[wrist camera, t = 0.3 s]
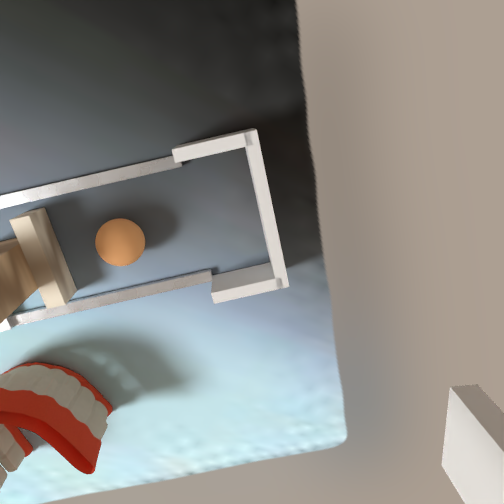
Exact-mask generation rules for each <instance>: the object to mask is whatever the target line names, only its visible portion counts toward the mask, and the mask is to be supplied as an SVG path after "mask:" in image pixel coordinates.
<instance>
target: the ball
mask: <svg viewBox="0 0 504 504" xmlns="http://www.w3.org/2000/svg"><path fill="white" fill-rule="evenodd" d="M95 245H96V249H97V252H98V254H99V255H100V257H101V258H102V259H103V260H104V261H106V262H107V263H109V264H112V265H115V266H126V265H129V264H132V263H133V262H135V261H136V260H138V258H139V257H140V256H141V255H142V253H143V251H144V248H145V237H144V234H143V232H142V230H141V229H140V227H139V226H138V225H137V224H135V223H134V222H132V221H130V220H127V219H121V218H119V219H113V220H110V221H108V222H106V223H105V224H104V225H102V226H101V228H100V229H99V230H98V232H97V235H96V239H95Z"/></svg>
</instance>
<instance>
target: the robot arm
mask: <svg viewBox="0 0 504 504" xmlns="http://www.w3.org/2000/svg"><path fill="white" fill-rule="evenodd" d="M442 467H443V468H444V470H445V472H446V473H447V475H448V477H449V478H450V480H451V481H452V483H453V485H454V486H455V488H456V490H457V491H458V493H459V494H460V496H461V497H462V499H463V501H464V503H465V504H504V413H503V412H502V411H501V409H500V408H499V407H498V406H497V405H496V404H495V403H494V402H493V401H492V400H491V399H490V398H489V397H488V395H487V394H486V393H485V392H484V391H483V390H482V389H481V388H480V387H479V386H478V385H477V384H476V385H465V386H454V387H450V393H449V402H448V412H447V421H446V430H445V439H444V448H443V458H442Z"/></svg>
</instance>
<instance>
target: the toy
mask: <svg viewBox="0 0 504 504" xmlns="http://www.w3.org/2000/svg"><path fill="white" fill-rule="evenodd" d="M111 412H112V406H111V405H110V403H109V402H108V401H107V400H106V399H105V398H103V396H102V395H101V393H100V392H99V391H98V390H97V389H96V388H95V387H93V386H92V385H91V384H89V382H88V381H87V380H86V379H85V378H84V377H83V376H81V375H80V374H77V373H75V372H74V371H72V370H70V369H67V368H64V367H61V366H54V365H50V364H46V363H38V362H34V363H27V364H23V365H20V366H17V367H14V368H12V369H10V370H9V371H6V372H4V373H3V374H1V375H0V463H1V464H2V466H3V467H4V468H5V469H6V470H7V471H8V472H13V471H15V470H17V468H18V467H19V465H20V463H21V462H22V460H23V459H24V457H26V456H28V455H29V454H30V453H31V452H32V450H33V447H32V446H31V444H30V443H29V442H28V441H27V439H26V438H25V437H24V436H23V434H22V433H21V432H20V430H19V429H18V428H17V427H20V428H23V429H26V430H29V431H32V432H34V433H36V434H38V435H39V436H40V437H41V438H43V439H44V440H45V441H47V442H48V443H49V444H50V445H51V446H52V447H53V448H54V449H56V450H57V451H58V452H59V453H60V454H61V455H62V456H63V457H64V458H65V459H66V460H67V461H68V462H69V463H70V464H72V465H73V466H74V467H75V468H76V469H77V470H79V471H81V472H83V473H85V474H92V473H93V472H94V471H95V467H96V462H97V458H98V454H99V450H100V447H101V438H102V437H103V435H104V433H105V431H106V429H107V425H108V424H107V423H106V419H107V416H109V415H110V414H111ZM2 466H1V465H0V489H1V487H2V485H3V483H4V481H5V479H6V478H7V473H6V471H5V470H4V468H3V467H2Z"/></svg>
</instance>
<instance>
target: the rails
mask: <svg viewBox="0 0 504 504" xmlns="http://www.w3.org/2000/svg"><path fill="white" fill-rule="evenodd" d="M182 166H183V164H182V161H181V162H177V163H175V160H174V157H173V155H172V156H168V157H164V158H160V159H155V160H151V161H147V162H142V163H138V164H134V165H129V166H125V167H121V168H116V169H112V170H108V171H103V172H99V173H95V174H90V175H86V176H82V177H78V178H73V179H69V180H65V181H60V182H56V183H52V184H47V185H43V186H39V187H34V188H30V189H26V190H21V191H17V192H13V193H8V194H4V195H0V209H1V208H5V207H9V206H13V205H18V204H22V203H26V202H31V201H35V200H39V199H44V198H48V197H52V196H57V195H61V194H65V193H70V192H74V191H78V190H83V189H87V188H91V187H96V186H100V185H104V184H109V183H113V182H117V181H122V180H126V179H130V178H135V177H139V176H143V175H148V174H152V173H156V172H160V171H165V170H169V169H173V168H178V167H182ZM212 276H213V275H212V272H211V269H207V270H202V271H198V272H194V273H189V274H185V275H181V276H176V277H172V278H167V279H163V280H159V281H154V282H150V283H145V284H141V285H137V286H132V287H128V288H124V289H119V290H115V291H110V292H106V293H102V294H97V295H93V296H88V297H84V298H80V299H75V300H71V301H68V302H67V304H66V305H63V306H58V307H54V308H50V309H47V308H46V306H45V307H40V308H36V309H31V310H27V311H23V312H18V313H14V314H13V312H12V313H11V314H10V315H9V316H8V317H7V318H6V319H5V320H4V321H3V322H2V323H1V324H0V332H2V331H6V330H11V329H12V328H13V327H14V326H17V325H22V324H26V323H30V322H35V321H39V320H44V319H48V318H52V317H57V316H61V315H65V314H70V313H74V312H79V311H83V310H87V309H92V308H96V307H101V306H105V305H109V304H114V303H118V302H123V301H127V300H131V299H136V298H140V297H145V296H149V295H153V294H158V293H162V292H166V291H171V290H175V289H180V288H184V287H188V286H193V285H197V284H202V283H206V282H210V281H212Z"/></svg>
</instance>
